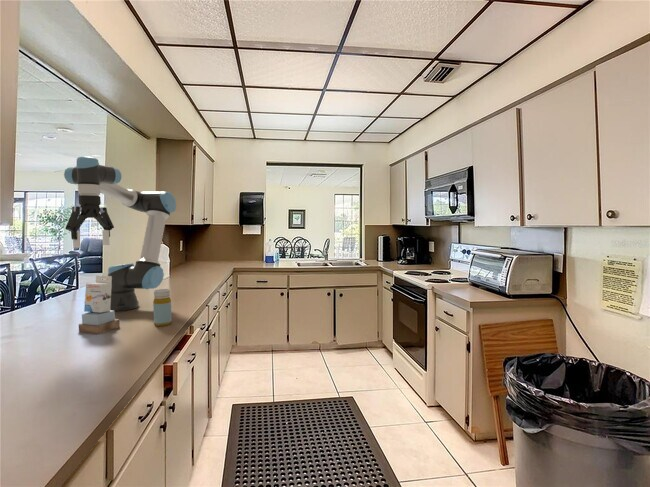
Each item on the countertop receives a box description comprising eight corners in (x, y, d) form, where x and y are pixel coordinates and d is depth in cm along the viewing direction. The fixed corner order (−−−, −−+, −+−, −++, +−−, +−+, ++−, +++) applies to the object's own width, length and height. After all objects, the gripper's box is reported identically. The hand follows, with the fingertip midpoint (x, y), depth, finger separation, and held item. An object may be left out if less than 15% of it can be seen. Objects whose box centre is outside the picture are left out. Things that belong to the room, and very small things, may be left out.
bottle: (151, 324, 149) (150, 290, 148) (167, 320, 154) (166, 288, 153) (157, 327, 144) (156, 292, 143) (174, 324, 149) (173, 290, 148)
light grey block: (99, 318, 145) (99, 309, 145) (114, 319, 143) (114, 310, 143) (82, 323, 138) (81, 314, 137) (97, 325, 136) (97, 315, 135)
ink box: (83, 311, 139) (85, 275, 140) (93, 310, 144) (96, 275, 145) (100, 312, 137) (102, 276, 138) (110, 311, 142) (112, 275, 143)
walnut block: (101, 326, 147) (100, 317, 147) (119, 328, 145) (119, 319, 144) (78, 333, 138) (78, 324, 137) (98, 335, 135) (98, 326, 135)
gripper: (107, 197, 154) (110, 243, 155) (51, 193, 129) (55, 248, 131) (121, 196, 152) (123, 244, 153) (67, 192, 128) (70, 249, 129)
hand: (92, 246), depth 142 cm, fingers open, 13 cm apart
